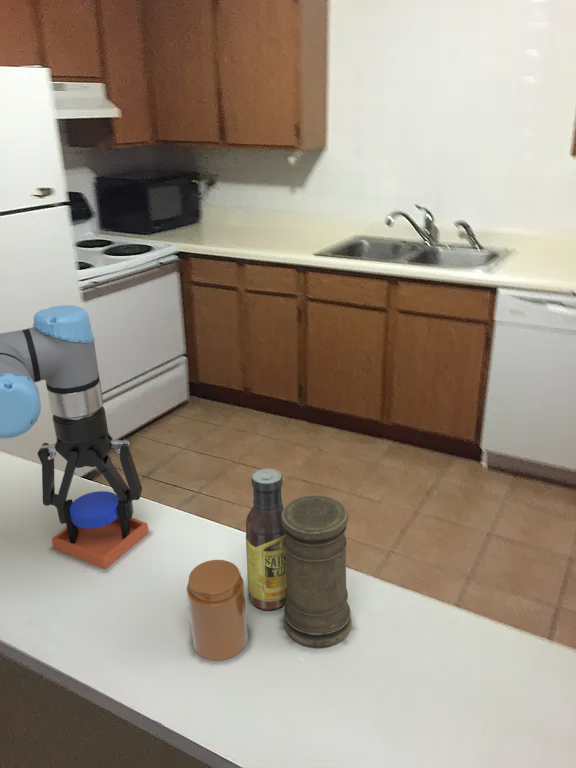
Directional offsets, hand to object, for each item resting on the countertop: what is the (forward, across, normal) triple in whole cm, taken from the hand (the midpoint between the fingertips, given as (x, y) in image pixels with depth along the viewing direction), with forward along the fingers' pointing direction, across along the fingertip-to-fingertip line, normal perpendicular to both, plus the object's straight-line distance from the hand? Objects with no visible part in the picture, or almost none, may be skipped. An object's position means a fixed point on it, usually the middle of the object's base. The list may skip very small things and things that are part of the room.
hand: (100, 536), depth 108 cm
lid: (-6, 0, 0) cm, 6 cm away
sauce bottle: (+1, -27, +16) cm, 31 cm away
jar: (+1, -20, +24) cm, 31 cm away
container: (+1, -33, +22) cm, 40 cm away
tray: (+1, 0, 0) cm, 1 cm away
